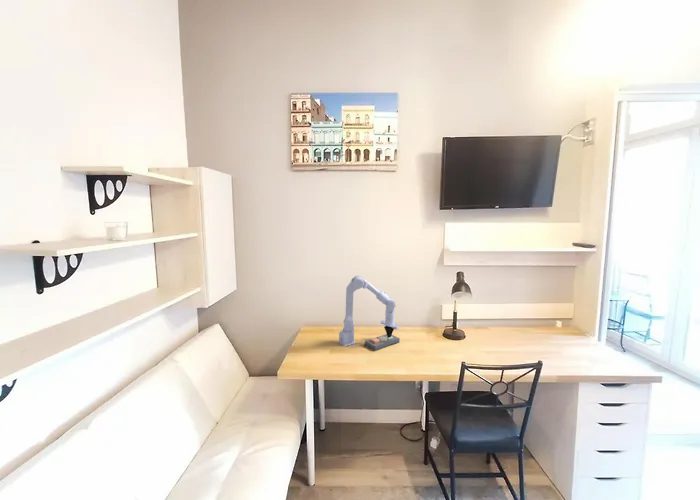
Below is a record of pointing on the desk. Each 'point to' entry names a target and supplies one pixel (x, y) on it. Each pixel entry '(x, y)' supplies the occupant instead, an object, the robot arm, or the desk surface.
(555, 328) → the desk surface
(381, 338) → the cream key
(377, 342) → the terracotta key
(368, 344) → the keypad
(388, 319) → the robot arm
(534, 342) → the desk surface
